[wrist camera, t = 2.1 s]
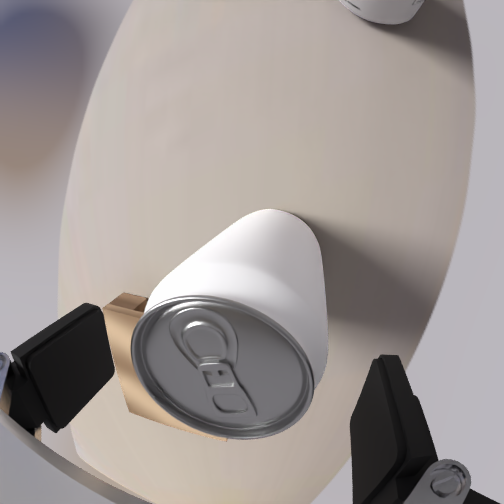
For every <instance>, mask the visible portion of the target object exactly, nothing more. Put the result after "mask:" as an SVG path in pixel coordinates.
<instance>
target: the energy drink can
mask: <svg viewBox="0 0 504 504" xmlns="http://www.w3.org/2000/svg"><path fill="white" fill-rule="evenodd" d="M339 1H340V2H341V3H342V4H343V5H344V6H345V7H346V8H348V9H349V10H350V11H351V12H353V13H354V14H355V15H357V16H359V17H361V18H363V19H365V20H368V21H371V22H374V23H380V24H401V23H404V22H407V21H409V20H410V19H412V18H413V16H414V15H415V14H416V12H417V11H418V9H419V8H420V7H421V5H422V4H423V2H424V1H425V0H339Z"/></svg>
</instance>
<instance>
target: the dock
mask: <svg viewBox="0 0 504 504" xmlns="http://www.w3.org/2000/svg"><path fill="white" fill-rule="evenodd" d="M146 305H147V298H145V297H140V296H136V295H131V294H127V293H122V294H121V295H120V296H118V297H117V298H116V299H114V300H113V301H112V302H110V303H109V304H107V305H106V306H105V307H103V313H104V318H105V323H106V328H107V333H108V338H109V342H110V346H111V350H112V355H113V359H114V362H115V366H116V370H117V374H118V377H119V381H120V384H121V387H122V391H123V394H124V397H125V400H126V403H127V406H128V409H129V412H131V413H134V414H136V415H139V416H142V417H144V418H147V419H150V420H153V421H155V422H158V423H161V424H164V425H167V426H170V427H174V428H177V429H180V430H184V431H187V432H190V433H194V434H198V435H201V436H205V437H209V438H213V439H217V440H222V441H226V442H227V439H228V438H222V437H217V436H213V435H210V434H207V433H204V432H201V431H198V430H196V429H194V428H191V427H189V426H187V425H185V424H184V423H182V422H180V421H178V420H177V419H175V418H174V417H172V416H171V415H170V414H168V413H167V412H166V411H165V410H163V409H162V408H161V407H160V406H159V405H158V404H157V403H156V402H155V401H154V400H153V399H152V398H151V397H150V395H149V394H148V393H147V392H146V390H145V389H144V387H143V386H142V384H141V382H140V381H139V379H138V377H137V374H136V372H135V369H134V366H133V363H132V358H131V338H132V334H133V331H134V328H135V326H136V324H137V322H138V321H139V319H140V318H141V317H142V316H143V314H144V311H145V307H146Z"/></svg>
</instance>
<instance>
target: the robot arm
mask: <svg viewBox="0 0 504 504" xmlns="http://www.w3.org/2000/svg"><path fill="white" fill-rule="evenodd" d="M11 354H12V356H13V359H14V362H12V363H11V360H10V358H9V356H8V355H7V354H6V353H3V352H0V504H152V503H149V502H146V501H144V500H142V499H139V498H137V497H135V496H133V495H130V494H128V493H126V492H124V491H122V490H120V489H117V488H116V487H113V486H112V485H109V484H108V483H105V482H104V481H102V480H100V479H98V478H96V477H95V476H93V475H91V474H89V473H87V472H86V471H84V470H82V469H81V468H79V467H77V466H76V465H74V464H72V463H71V462H69V461H68V460H66V459H65V458H63V457H62V456H60V455H58V454H57V453H56V452H54V451H53V450H51V449H50V448H48V447H47V446H45V445H44V444H43V443H42V442H41V424H42V423H43V422H44V424H45V425H46V427H47V428H49V429H50V430H52V431H53V432H55V433H57V432H58V431H59V430H60V429H61V428H64V427H66V426H67V424H68V423H69V422H70V421H71V420H72V419H73V418H74V417H75V416H76V415H77V414H78V413H79V412H80V411H81V409H82V408H83V407H84V406H85V405H86V404H87V403H88V402H89V401H90V400H91V399H92V398H93V397H94V396H95V395H96V394H97V392H98V391H99V390H100V389H101V388H102V387H103V386H104V385H105V384H106V383H107V382H108V381H109V380H110V379H111V378H112V376H113V375H114V372H115V367H114V363H113V359H112V354H111V350H110V345H109V340H108V335H107V330H106V325H105V319H104V314H103V312H102V311H101V309H100V307H98V306H96V305H93V304H89V303H84V304H82V305H81V306H79V307H77V308H76V309H74V310H73V311H71V312H70V313H68V314H66V315H65V316H63V317H62V318H60V319H59V320H57V321H56V322H54V323H53V324H51V325H49V326H48V327H46V328H45V329H43V330H42V331H40V332H39V333H37V334H36V335H34V336H33V337H31V338H30V339H28V340H27V341H26V342H24V343H23V344H21V345H20V346H18V347H17V348H16V349H14V350H12V351H11ZM350 436H351V454H352V480H353V481H352V482H353V504H500V503H498V502H496V501H494V500H491V499H490V498H488V497H486V496H484V495H482V494H480V493H477V492H476V491H473V490H472V489H470V485H471V476H470V474H469V471H468V470H467V468H466V467H465V466H464V465H463V464H461V463H460V462H458V461H455V460H451V459H443V460H440V461H438V457H437V454H436V450H435V447H434V443H433V440H432V437H431V434H430V431H429V428H428V425H427V422H426V419H425V416H424V413H423V410H422V407H421V404H420V401H419V399H418V397H417V396H415V395H413V392H412V389H411V386H410V384H409V381H408V378H407V376H406V373H405V371H404V368H403V365H402V363H401V360H400V358H399V356H398V355H380V356H379V358H378V359H374V360H373V362H372V364H371V367H370V370H369V373H368V376H367V378H366V381H365V384H364V386H363V389H362V392H361V394H360V397H359V399H358V402H357V404H356V407H355V409H354V411H353V414H352V416H351V420H350Z"/></svg>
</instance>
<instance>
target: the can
mask: <svg viewBox="0 0 504 504" xmlns="http://www.w3.org/2000/svg"><path fill="white" fill-rule="evenodd" d="M327 356H328V323H327V307H326V295H325V283H324V273H323V264H322V257H321V251H320V247H319V243H318V241H317V239H316V237H315V235H314V233H313V232H312V230H311V229H310V228H309V227H308V226H307V224H305V223H304V222H303V221H302V220H301V219H299V218H298V217H296V216H294V215H292V214H290V213H288V212H285V211H281V210H276V209H264V210H259V211H256V212H253V213H250V214H248V215H246V216H244V217H243V218H241V219H239V220H238V221H236V222H235V223H234V224H232V225H231V226H230V227H228V228H227V229H225V230H224V231H223V232H221V233H220V234H219V235H217V236H216V237H215V238H213V239H212V240H211V241H210V242H208V243H207V244H206V245H204V246H203V247H202V248H200V249H199V250H198V251H197V252H195V253H194V254H193V255H191V256H190V257H189V258H188V259H186V260H185V261H184V262H183V263H181V264H180V265H179V266H178V267H176V268H175V269H174V270H173V271H172V272H171V273H169V274H168V275H167V276H166V277H165V278H164V279H163V280H162V281H161V282H160V283H159V284H158V286H157V287H156V288H155V289H154V291H153V292H152V294H151V296H150V298H149V300H148V302H147V305H146V307H145V311H144V314H143V316H142V317H141V318H140V319H139V321H138V322H137V324H136V326H135V328H134V331H133V334H132V338H131V358H132V363H133V366H134V369H135V372H136V374H137V377H138V379H139V381H140V382H141V384H142V386H143V387H144V389H145V390H146V392H147V393H148V394H149V395H150V397H151V398H152V399H153V400H154V401H155V402H156V403H157V404H158V405H159V406H160V407H161V408H162V409H163V410H165V411H166V412H167V413H168V414H170V415H171V416H172V417H174V418H175V419H177V420H178V421H180V422H182V423H184V424H185V425H187V426H189V427H191V428H194V429H196V430H198V431H201V432H204V433H207V434H210V435H213V436H217V437H222V438H228V439H240V440H248V439H259V438H264V437H269V436H272V435H275V434H278V433H280V432H282V431H284V430H286V429H288V428H290V427H291V426H293V425H294V424H295V423H296V422H298V421H299V420H300V419H301V418H302V417H303V415H304V414H305V413H306V411H307V410H308V408H309V406H310V404H311V402H312V399H313V395H314V390H315V388H316V387H317V385H318V384H319V382H320V380H321V378H322V376H323V373H324V371H325V367H326V363H327Z"/></svg>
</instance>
